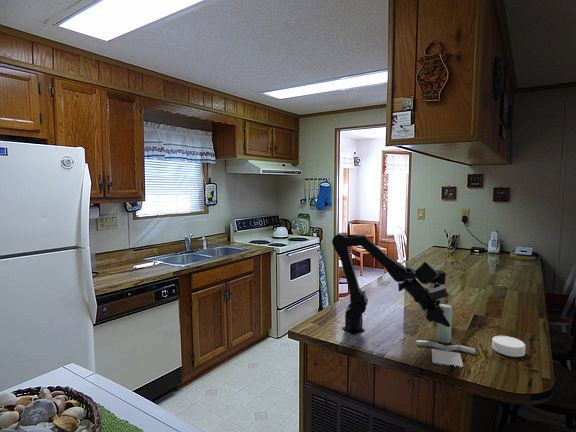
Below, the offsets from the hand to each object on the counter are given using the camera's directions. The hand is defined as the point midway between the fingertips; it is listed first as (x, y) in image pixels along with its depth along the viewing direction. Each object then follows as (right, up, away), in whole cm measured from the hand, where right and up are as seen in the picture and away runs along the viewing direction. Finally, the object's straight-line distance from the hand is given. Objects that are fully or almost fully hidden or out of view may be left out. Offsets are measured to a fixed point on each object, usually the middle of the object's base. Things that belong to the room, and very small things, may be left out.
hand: (448, 323), depth 129 cm
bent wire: (-4, -7, -6) cm, 10 cm away
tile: (-7, -8, -13) cm, 17 cm away
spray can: (+6, -5, +26) cm, 27 cm away
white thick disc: (+18, -8, -7) cm, 21 cm away
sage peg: (-1, -7, +1) cm, 7 cm away
